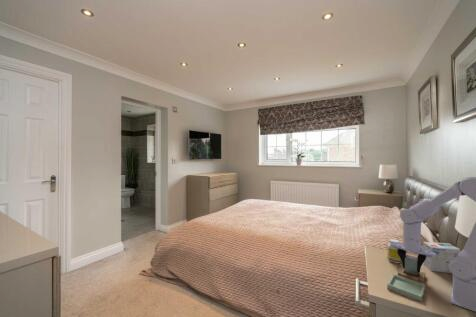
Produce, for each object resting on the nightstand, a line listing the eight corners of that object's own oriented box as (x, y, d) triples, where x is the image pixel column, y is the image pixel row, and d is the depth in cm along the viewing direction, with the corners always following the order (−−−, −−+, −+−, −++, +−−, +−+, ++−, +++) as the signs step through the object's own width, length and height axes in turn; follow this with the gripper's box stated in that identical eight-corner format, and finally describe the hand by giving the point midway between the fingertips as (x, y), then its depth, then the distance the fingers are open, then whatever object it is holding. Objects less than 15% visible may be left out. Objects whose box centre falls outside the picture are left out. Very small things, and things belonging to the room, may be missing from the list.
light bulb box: (449, 266, 98) (449, 242, 98) (461, 274, 91) (461, 249, 91) (422, 263, 100) (422, 240, 100) (431, 271, 94) (431, 247, 94)
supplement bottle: (403, 264, 100) (403, 243, 100) (390, 263, 101) (390, 242, 101) (397, 258, 105) (397, 238, 105) (385, 257, 106) (385, 238, 106)
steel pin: (418, 276, 90) (418, 257, 90) (416, 280, 87) (417, 261, 87) (406, 272, 93) (406, 254, 93) (404, 276, 90) (404, 257, 90)
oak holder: (425, 276, 90) (425, 273, 90) (422, 284, 84) (422, 280, 84) (401, 269, 96) (401, 265, 96) (397, 276, 90) (397, 272, 90)
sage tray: (425, 289, 81) (425, 284, 81) (421, 301, 75) (421, 296, 75) (393, 278, 89) (393, 274, 89) (387, 288, 82) (387, 284, 82)
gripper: (436, 239, 87) (435, 272, 87) (393, 230, 98) (392, 260, 98) (434, 245, 82) (434, 279, 82) (389, 234, 93) (389, 265, 93)
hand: (411, 269), depth 90 cm, fingers closed on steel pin, 4 cm apart
